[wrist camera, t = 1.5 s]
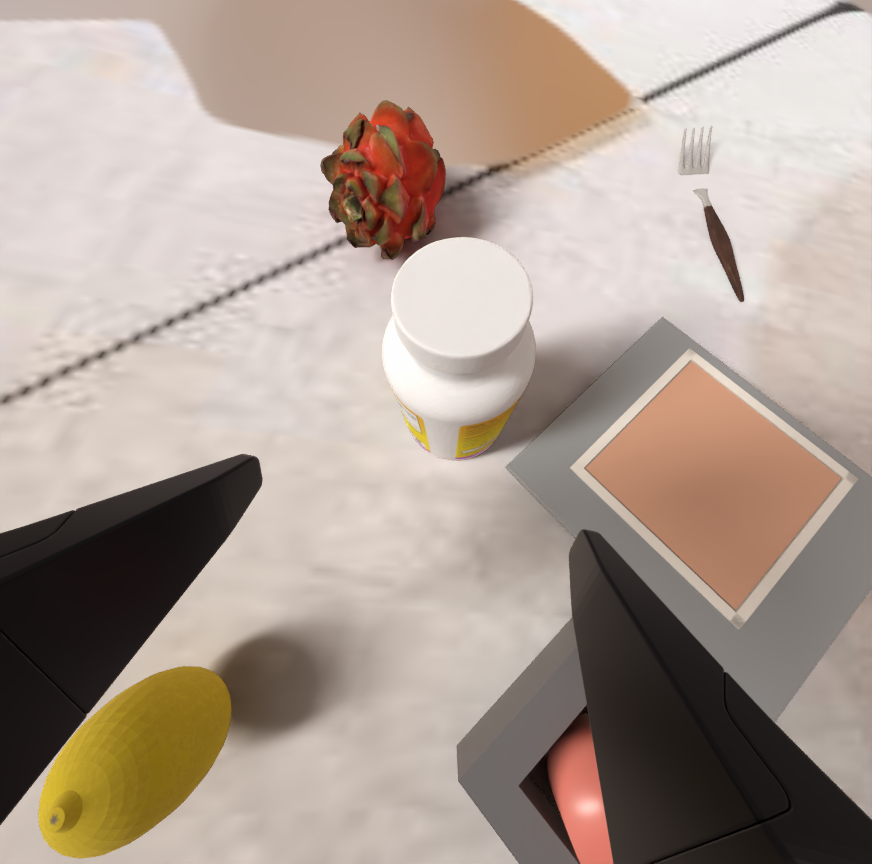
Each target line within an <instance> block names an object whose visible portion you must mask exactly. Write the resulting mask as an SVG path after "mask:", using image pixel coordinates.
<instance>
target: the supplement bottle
mask: <svg viewBox="0 0 872 864" xmlns="http://www.w3.org/2000/svg"><path fill="white" fill-rule="evenodd" d="M391 305H392V312H393V316H392V318H391V319H390V321H389V324H388V326H387V328H386V331H385V335H384V339H383V346H382V359H383V366H384V370H385V373H386V376H387V379H388V381H389V384H390V386H391V388H392V391H393V393H394V395H395V397H396V400H397V402H398V404H399V407H400V409H401V412H402V414H403V416H404V419H405V421H406V423H407V426H408V428H409V430H410V432H411V434H412V436H413V438H414V439H415V441H416V442H417V443H418V444H419V445H420V446H421V447H422V448H423V449H424V450H425V451H427V452H428V453H430V454H431V455H433V456H435V457H438V458H441V459H445V460H454V461H458V460H466V459H470V458H473V457H475V456H477V455H479V454H481V453H482V452H484V451H485V450H487V449H488V448H489V447H490V446H491V445H492V444H493V443H494V441H495V440H496V439H497V437H498V435H499V434H500V432H501V430H502V429H503V427H504V425H505V423H506V422H507V420H508V418H509V416H510V415H511V413H512V411H513V410H514V408H515V406H516V404H517V402H518V401H519V399H520V397H521V396H522V394H523V392H524V391H525V389H526V387H527V385H528V383H529V381H530V378H531V376H532V373H533V369H534V365H535V358H536V343H535V338H534V333H533V330H532V327H531V324H530V322H529V318H530V315H531V311H532V305H533V292H532V286H531V283H530V280H529V277H528V274H527V273H526V271H525V269H524V267H523V266H522V265H521V263H520V262H519V261H518V260H517V259H516V258H515V257H514V256H513V255H512V254H511V253H509V252H508V251H507V250H505V249H503V248H502V247H500V246H498V245H496V244H494V243H492V242H489V241H486V240H482V239H478V238H471V237H457V238H448V239H443V240H439V241H436V242H433V243H430V244H428V245H426V246H424V247H423V248H421V249H419V250H418V251H417V252H415V253H414V254H413V255H412V256H410V257H409V258H408V259H407V260H406V261H405V263H404V264H403V265H402V267H401V268H400V270H399V271H398V273H397V275H396V277H395V280H394V283H393V287H392V293H391Z"/></svg>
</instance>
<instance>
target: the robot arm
mask: <svg viewBox="0 0 872 864" xmlns="http://www.w3.org/2000/svg"><path fill="white" fill-rule="evenodd" d="M261 485H262V473H261V468H260V462H259V459H258V458H257V457H255V456H251V455H247V454H240V455H237V456H234V457H231V458H228V459H225V460H222V461H219V462H216V463H213V464H210V465H207V466H204V467H201V468H198V469H195V470H192V471H189V472H186V473H183V474H180V475H177V476H174V477H171V478H168V479H165V480H162V481H159V482H156V483H153V484H150V485H147V486H144V487H141V488H138V489H135V490H132V491H129V492H126V493H123V494H120V495H117V496H114V497H111V498H108V499H105V500H102V501H99V502H96V503H93V504H90V505H87V506H84V507H81V508H78V509H77V510H76V511H74V510H72V511H69V512H66V513H63V514H60V515H57V516H54V517H51V518H48V519H45V520H42V521H39V522H36V523H32V524H29V525H26V526H23V527H20V528H17V529H14V530H10V531H7V532H4V533H0V825H1V824H2V823H3V821H4V820H5V819H6V817H7V816H8V815H9V814H10V812H11V811H12V810H13V809H14V807H15V806H16V805H17V804H18V802H19V801H20V800H21V799H22V797H23V796H24V795H25V793H26V792H27V791H28V790H29V788H30V787H31V786H32V785H33V783H34V782H35V781H36V780H37V778H38V777H39V776H40V774H41V773H42V772H43V771H44V769H45V768H46V767H47V766H48V764H49V763H50V762H51V761H52V759H53V758H54V757H55V756H56V754H57V753H58V752H59V751H60V749H61V748H62V747H63V745H64V744H65V743H66V742H67V740H68V739H69V738H70V737H71V735H72V734H73V733H74V732H75V730H76V729H77V728H78V727H79V725H80V724H81V723H82V721H83V720H84V719H85V718H86V716H87V714H88V713H89V712H90V711H91V710H92V708H93V707H94V706H95V705H96V703H97V702H98V701H99V700H100V698H101V697H102V696H103V695H104V693H105V692H106V691H107V689H108V688H109V687H110V686H111V684H112V683H113V682H114V681H115V679H116V678H117V677H118V676H119V674H120V673H121V672H122V671H123V669H124V668H125V667H126V665H127V664H128V663H129V662H130V660H131V659H132V658H133V657H134V655H135V654H136V653H137V652H138V650H139V649H140V648H141V647H142V645H143V644H144V643H145V641H146V640H147V639H148V638H149V636H150V635H151V634H152V633H153V631H154V630H155V629H156V628H157V626H158V625H159V624H160V623H161V621H162V620H163V619H164V617H165V616H166V615H167V614H168V612H169V611H170V610H171V609H172V607H173V606H174V605H175V604H176V602H177V601H178V600H179V599H180V597H181V596H182V595H183V593H184V592H185V591H186V590H187V588H188V587H189V586H190V585H191V583H192V582H193V581H194V580H195V578H196V577H197V576H198V575H199V573H200V572H201V571H202V569H203V568H204V567H205V566H206V564H207V563H208V562H209V561H210V559H211V558H212V557H213V556H214V554H215V553H216V552H217V551H218V549H219V548H220V547H221V545H222V544H223V543H224V542H225V540H226V539H227V538H228V536H229V535H230V534H231V532H232V531H233V529H234V528H235V527H236V525H237V523H238V522H239V520H240V519H241V517H242V516H243V514H244V513H245V511H246V509H247V508H248V506H249V505H250V503H251V502H252V500H253V499H254V497H255V495H256V494H257V492H258V491H259V489H260V487H261ZM569 570H570V588H571V606H572V618H573V625H574V631H575V637H576V643H577V649H578V655H579V661H580V667H581V673H582V679H583V685H584V691H585V697H586V703H587V709H588V715H589V721H590V727H591V733H592V739H593V745H594V751H595V757H596V763H597V769H598V775H599V781H600V787H601V793H602V799H603V805H604V811H605V817H606V823H607V829H608V835H609V841H610V847H611V853H612V859H613V864H872V819H871V818H870V817H869V816H868V815H867V814H865V813H864V812H863V811H862V810H861V809H860V808H859V807H858V806H857V805H856V804H855V803H854V802H853V801H852V800H851V799H850V798H849V797H848V796H847V795H846V794H845V793H844V792H843V791H842V790H841V789H840V788H839V787H838V786H837V785H836V784H835V783H834V782H833V781H832V780H831V779H830V778H829V777H828V776H827V775H826V774H825V773H824V772H823V771H822V770H821V769H820V768H819V767H818V766H817V765H816V764H815V763H814V762H813V761H812V760H811V759H810V758H809V757H808V756H807V755H806V754H805V753H804V752H803V751H802V750H801V749H800V748H799V747H798V746H797V745H796V744H795V743H794V742H793V741H792V740H791V739H790V738H789V737H788V736H787V735H786V734H785V733H784V732H783V731H782V730H781V729H780V728H779V727H778V726H777V725H776V724H775V723H774V721H773V720H772V719H771V718H770V717H769V716H768V715H767V714H766V713H765V712H764V711H763V710H762V709H761V708H760V707H759V706H758V704H757V703H756V702H755V701H754V700H753V699H752V698H751V697H750V696H749V695H748V694H747V693H746V692H745V691H744V690H743V688H742V687H741V686H740V685H739V684H738V683H737V682H736V681H735V680H734V679H733V678H732V677H731V675H730V674H729V673H727V672H724V668H723V667H722V666H721V665H720V664H719V663H718V661H717V660H716V659H715V658H714V657H713V656H712V655H711V654H710V653H709V652H708V651H707V649H706V648H705V647H704V646H703V645H702V644H701V643H700V642H699V641H698V640H697V639H696V637H695V636H694V635H693V634H692V633H691V632H690V631H689V630H688V629H687V628H686V627H685V626H684V624H683V623H682V622H681V621H680V620H679V619H678V618H677V617H676V616H675V615H674V614H673V612H672V611H671V610H670V609H669V608H668V607H667V606H666V605H665V604H664V603H663V602H662V600H661V599H660V598H659V597H658V596H657V595H656V594H655V593H654V592H653V591H652V590H651V588H650V587H649V586H648V585H647V584H646V583H645V582H644V581H643V580H642V579H641V578H640V577H639V575H638V574H637V573H636V572H635V571H634V570H633V569H632V568H631V567H630V566H629V565H628V563H627V562H626V561H625V560H624V559H623V558H622V557H621V556H620V555H619V554H618V553H617V551H616V550H615V549H614V548H613V547H612V546H611V545H610V544H609V543H608V542H607V541H606V539H605V538H604V537H603V536H602V535H601V534H600V533H598V532H596V531H592V530H587V529H582V530H580V532H579V533H578V535H577V537H576V539H575V541H574V543H573V545H572V547H571V549H570V552H569Z"/></svg>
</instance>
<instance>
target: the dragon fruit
mask: <svg viewBox="0 0 872 864" xmlns="http://www.w3.org/2000/svg"><path fill="white" fill-rule="evenodd" d="M433 143H434V142H433V138H432V137H431V136H430V134H429V132H428V130H427V128H426V126H425V124H424V123H423V121H422V119H421V118H420V116H419V115H418V114H416V113H415V112H414V111H413V110H412V109H411V108H409V107H408V108H407V109H406V110H405V111H403V110H402V108H400V107H399V106H397V105H395V104H394V103H391V102H389V101H382V102H381V103H380V104H379V105H378V106H377V108H376V109H375V111H374V114H373V116H372V119H371V121H368V119H367V118H366V116H365V115H363V114H361V113H359V114H358V115H357V117H356V118H355V119H354V120H353V121H352V122H351V123H350V125H349V127H348V129H347V130H346V131H345V132H344V133H343V145H340V146H339V147H338V148H337V149H336V150H335V151H334V152H333V153H332V155H329V156H327V157H325V158H323V159H322V161H321V171H322V173H323V174H324V175H325V177H326V179H327V180H328V181H329V182H330V183H331V184H332V185H333V191H332V194H331V196H330V200H329V212H330V214H331V216H332V218H333V219H334V220H335V222H336V223H339V222H343V223H344V224H345V228H346V232H347V240H348V241H349V242H350V244H352V246H353V247H355V248H357V247H372V246H373V245H375V244H378V245H380V246H381V249H382V254H381V257H382V258H383V259H391V260H393V259H394V258H396V257H397V256H398V254H399V253H400V252H401V250H402V248H403V245H404V239H408V238H411V241H419V240H420V239H422V238H425V235H428V234H429V233H430V232H431V231H432V230H433V229H434V227H435V217H434V208H435V206H436V204H437V203H438V202H439V200H440V199H441V196H442V193H443V192H444V186H445V175H446V172H445V165H444V161H443V159H442V158H441V157H440V154H439V152H438V150H436V149H432V147H433ZM427 230H429V231H428V233H427V234H426V231H427Z"/></svg>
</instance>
